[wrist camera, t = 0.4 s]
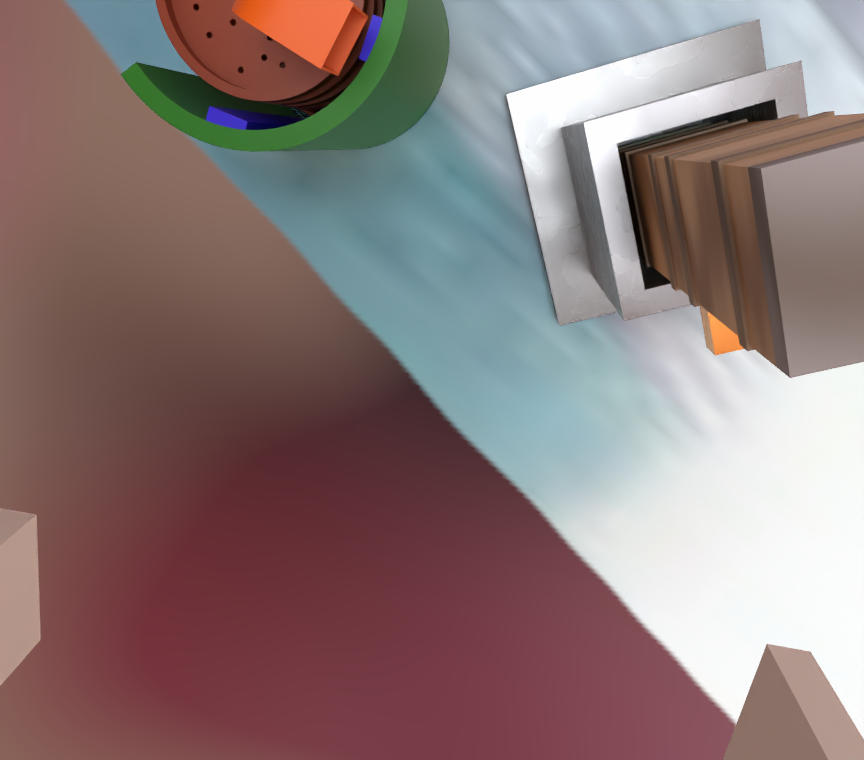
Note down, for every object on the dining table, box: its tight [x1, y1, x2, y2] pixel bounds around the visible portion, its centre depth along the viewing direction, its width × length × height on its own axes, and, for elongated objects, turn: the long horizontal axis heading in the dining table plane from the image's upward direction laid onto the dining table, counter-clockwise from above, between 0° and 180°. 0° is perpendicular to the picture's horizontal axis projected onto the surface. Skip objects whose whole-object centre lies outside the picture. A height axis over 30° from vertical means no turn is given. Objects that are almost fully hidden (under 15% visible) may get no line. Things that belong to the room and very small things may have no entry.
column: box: [618, 111, 864, 378], centre depth 25 cm, size 5×5×23 cm
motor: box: [121, 0, 449, 151], centre depth 28 cm, size 10×9×20 cm
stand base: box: [506, 20, 808, 355], centre depth 32 cm, size 12×12×12 cm
